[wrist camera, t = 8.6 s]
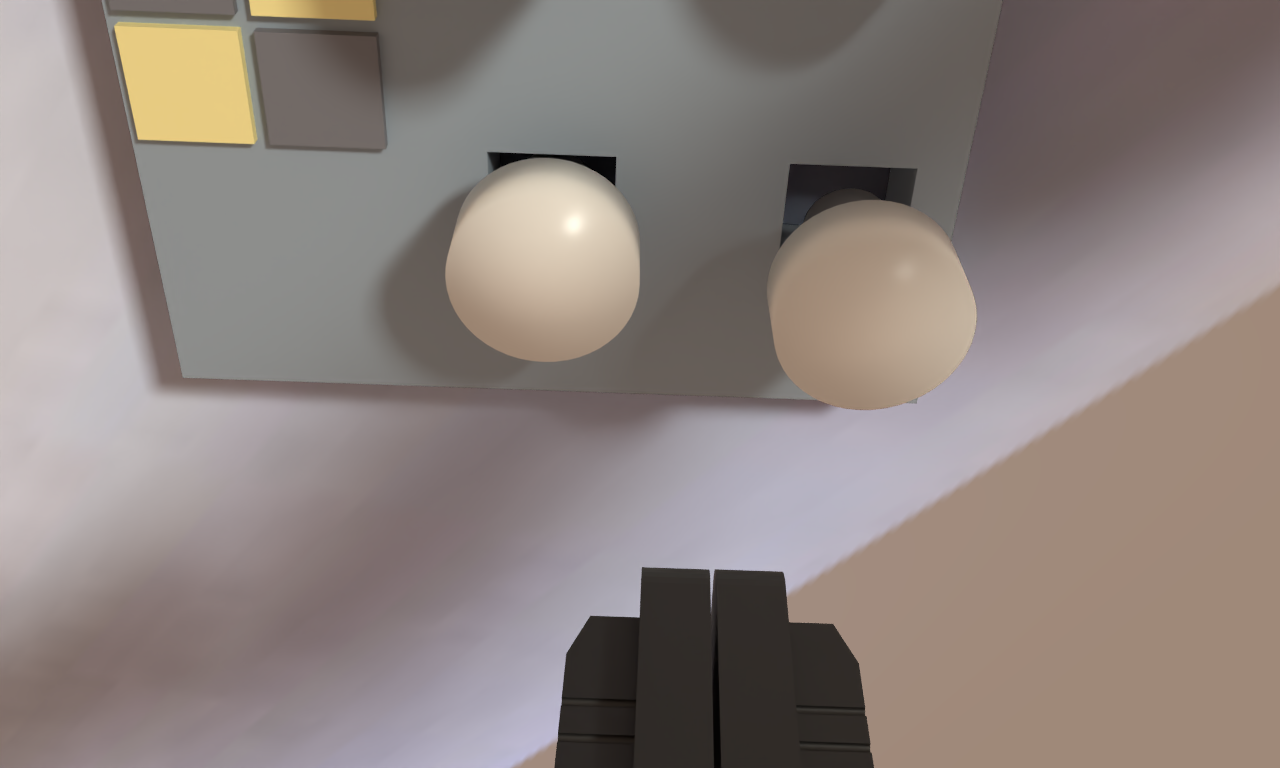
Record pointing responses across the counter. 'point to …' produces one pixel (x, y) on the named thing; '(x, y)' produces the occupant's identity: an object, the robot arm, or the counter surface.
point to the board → (516, 123)
